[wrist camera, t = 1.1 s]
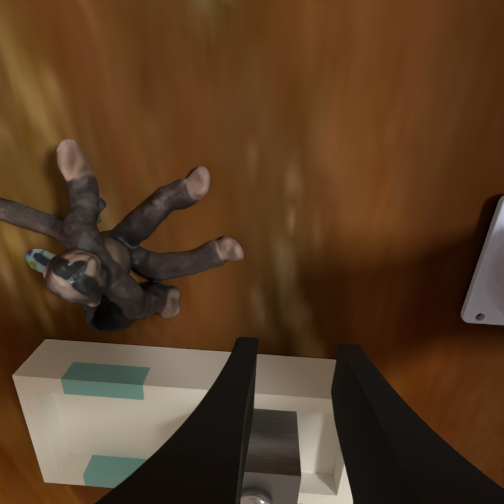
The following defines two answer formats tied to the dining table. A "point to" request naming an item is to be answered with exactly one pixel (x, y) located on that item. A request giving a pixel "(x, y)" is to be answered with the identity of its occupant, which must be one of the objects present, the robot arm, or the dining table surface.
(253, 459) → the rider
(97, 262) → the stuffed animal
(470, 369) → the dining table surface
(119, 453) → the white rectangular tray
